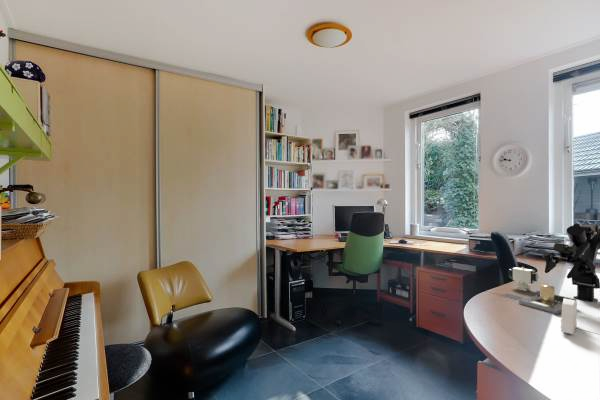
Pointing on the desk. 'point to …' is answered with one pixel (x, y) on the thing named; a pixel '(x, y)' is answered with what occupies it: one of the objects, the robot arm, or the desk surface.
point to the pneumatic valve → (523, 277)
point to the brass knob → (547, 294)
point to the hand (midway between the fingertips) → (556, 275)
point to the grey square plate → (512, 296)
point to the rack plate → (535, 303)
